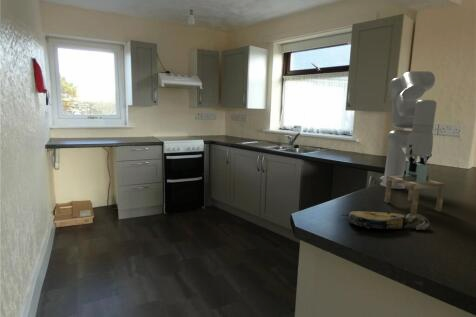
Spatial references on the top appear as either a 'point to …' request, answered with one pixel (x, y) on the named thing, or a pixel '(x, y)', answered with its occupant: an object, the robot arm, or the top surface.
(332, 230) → the top surface
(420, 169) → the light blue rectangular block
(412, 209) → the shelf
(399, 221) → the pulley block
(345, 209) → the top surface
